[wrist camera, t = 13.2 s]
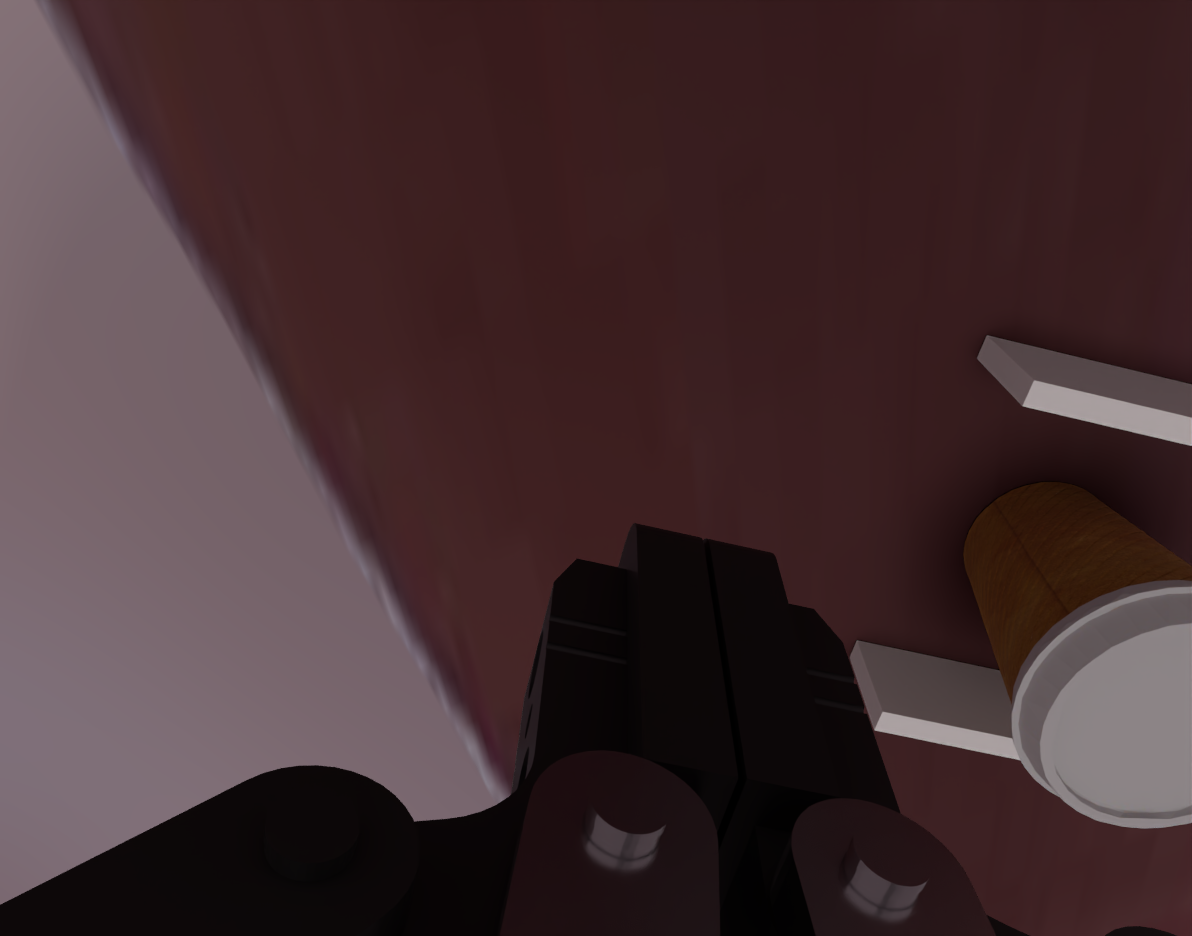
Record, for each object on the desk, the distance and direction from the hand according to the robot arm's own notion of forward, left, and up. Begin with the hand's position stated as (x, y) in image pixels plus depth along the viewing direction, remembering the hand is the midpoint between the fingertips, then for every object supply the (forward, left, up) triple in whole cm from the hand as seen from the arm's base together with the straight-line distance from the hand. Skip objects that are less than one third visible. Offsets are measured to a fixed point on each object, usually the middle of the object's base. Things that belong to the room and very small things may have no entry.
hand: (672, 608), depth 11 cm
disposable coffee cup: (+11, +21, -29) cm, 38 cm away
